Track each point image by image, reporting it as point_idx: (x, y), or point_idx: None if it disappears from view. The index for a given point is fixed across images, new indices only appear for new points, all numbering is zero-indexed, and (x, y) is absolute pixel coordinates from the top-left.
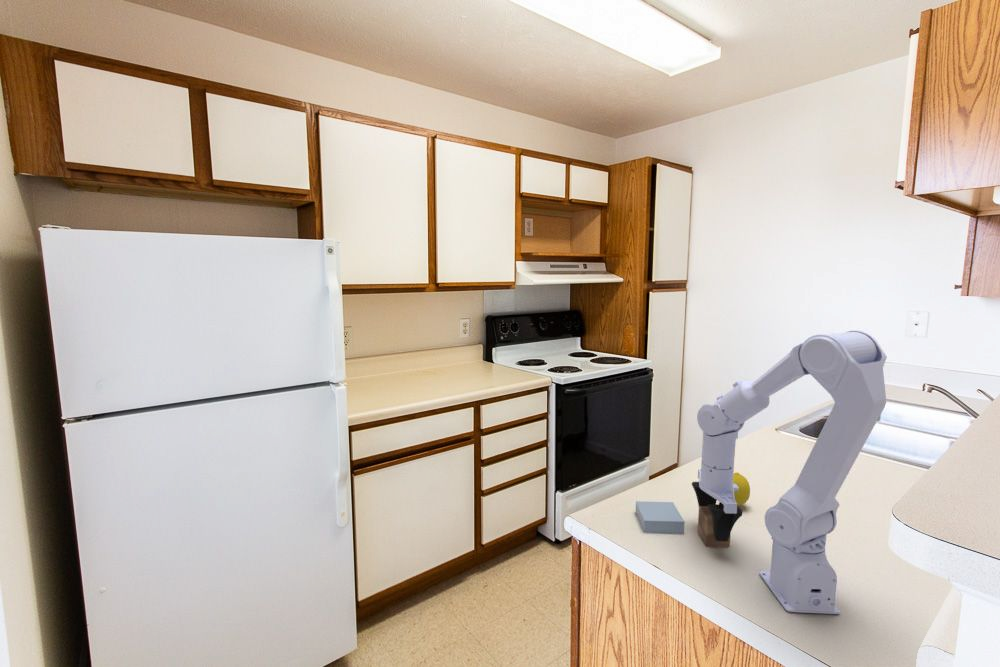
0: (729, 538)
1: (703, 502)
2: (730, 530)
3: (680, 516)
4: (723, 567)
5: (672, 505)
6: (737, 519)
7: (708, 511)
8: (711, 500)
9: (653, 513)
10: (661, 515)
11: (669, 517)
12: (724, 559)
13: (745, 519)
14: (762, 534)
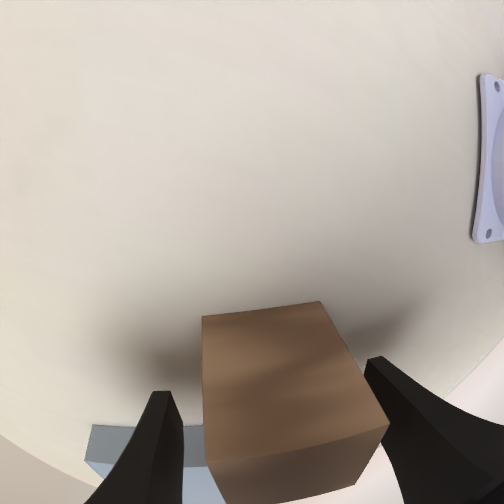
0: (336, 332)
1: (176, 501)
2: (426, 392)
3: (192, 468)
4: (423, 337)
5: (111, 467)
6: (498, 425)
7: (290, 493)
8: (161, 499)
9: (198, 499)
10: (204, 492)
11: (212, 484)
12: (391, 330)
13: (12, 140)
14: (156, 74)
